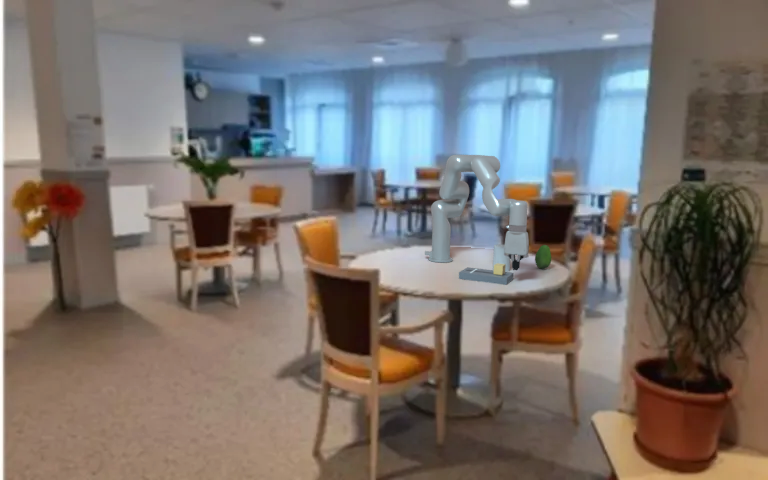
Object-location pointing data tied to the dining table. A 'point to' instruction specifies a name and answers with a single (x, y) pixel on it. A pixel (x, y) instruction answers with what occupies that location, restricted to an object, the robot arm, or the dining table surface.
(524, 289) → the dining table surface
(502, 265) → the fader knob
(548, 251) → the avocado
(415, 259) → the dining table surface
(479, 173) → the robot arm
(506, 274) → the board
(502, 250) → the light blue cylinder
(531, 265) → the dining table surface
